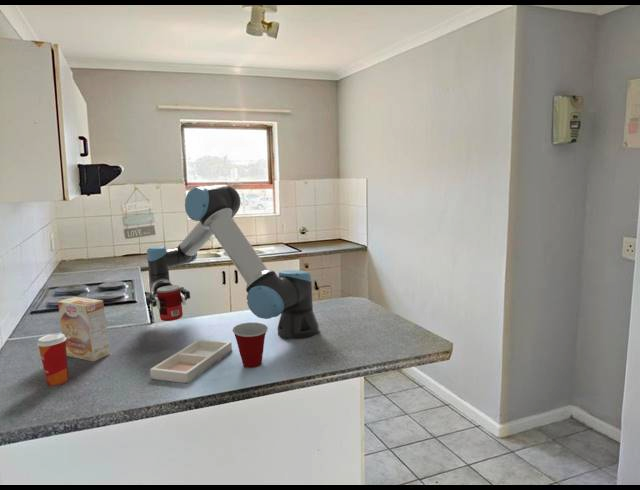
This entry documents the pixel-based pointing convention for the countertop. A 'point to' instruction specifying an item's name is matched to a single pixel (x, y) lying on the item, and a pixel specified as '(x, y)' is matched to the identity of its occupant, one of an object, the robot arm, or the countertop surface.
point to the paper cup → (54, 358)
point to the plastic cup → (250, 342)
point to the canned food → (170, 302)
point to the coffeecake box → (84, 328)
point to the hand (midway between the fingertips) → (171, 303)
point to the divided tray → (191, 361)
